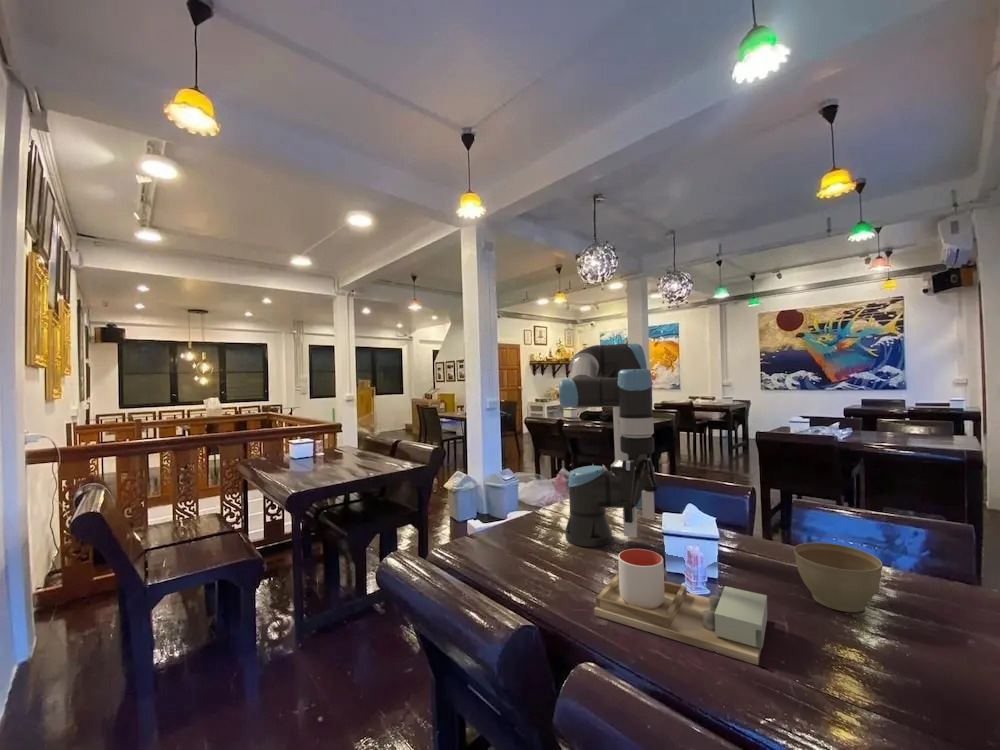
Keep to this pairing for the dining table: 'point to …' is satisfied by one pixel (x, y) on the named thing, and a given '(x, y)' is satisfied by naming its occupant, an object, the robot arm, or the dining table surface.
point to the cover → (741, 616)
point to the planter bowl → (838, 575)
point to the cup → (641, 578)
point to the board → (675, 619)
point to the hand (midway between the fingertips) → (640, 526)
